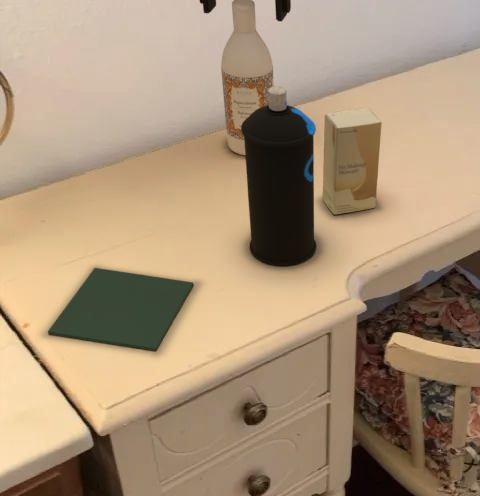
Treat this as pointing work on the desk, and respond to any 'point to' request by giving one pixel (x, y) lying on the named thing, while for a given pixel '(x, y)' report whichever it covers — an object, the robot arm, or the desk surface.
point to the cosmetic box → (351, 160)
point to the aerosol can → (280, 181)
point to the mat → (122, 309)
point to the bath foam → (244, 73)
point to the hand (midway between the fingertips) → (245, 13)
